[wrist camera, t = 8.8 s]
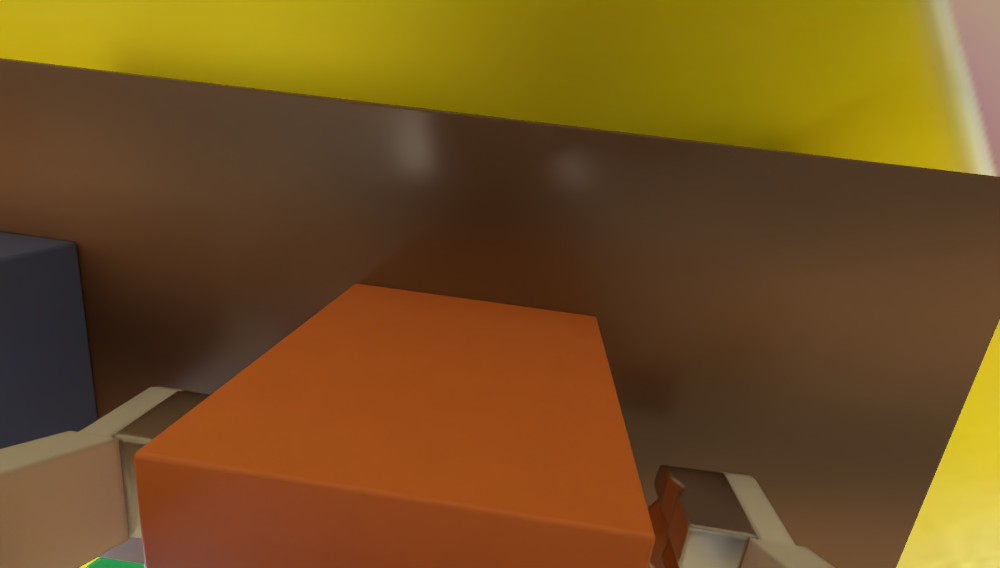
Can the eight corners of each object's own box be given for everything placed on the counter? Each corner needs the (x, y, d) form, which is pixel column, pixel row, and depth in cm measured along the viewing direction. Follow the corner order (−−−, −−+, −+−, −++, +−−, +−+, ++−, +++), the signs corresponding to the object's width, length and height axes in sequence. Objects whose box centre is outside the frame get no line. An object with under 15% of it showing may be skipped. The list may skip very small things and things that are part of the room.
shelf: (109, 77, 20) (-296, 23, 10) (794, 159, 19) (1058, 183, 9) (136, 359, 23) (-150, 515, 14) (716, 446, 22) (847, 686, 12)
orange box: (354, 282, 11) (130, 453, 5) (597, 315, 10) (658, 538, 5) (347, 485, 12) (165, 803, 6) (560, 519, 12) (573, 883, 6)
